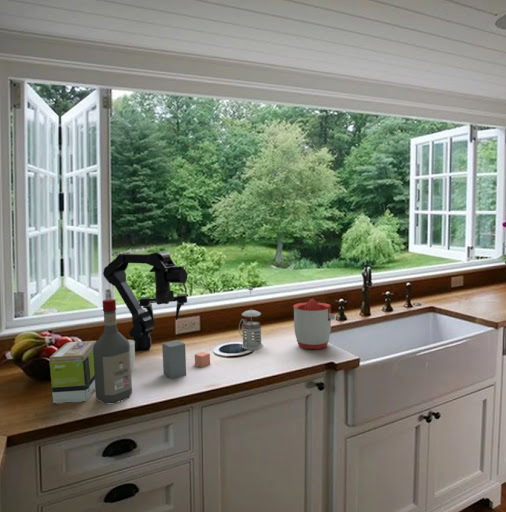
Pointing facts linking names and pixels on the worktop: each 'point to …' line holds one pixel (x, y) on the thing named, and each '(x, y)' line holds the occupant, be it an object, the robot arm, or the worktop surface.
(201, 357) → the red block
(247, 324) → the french press
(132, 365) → the white cup
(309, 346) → the citrus juicer
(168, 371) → the grey tall block
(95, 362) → the liquor
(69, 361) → the tea box
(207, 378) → the worktop surface
